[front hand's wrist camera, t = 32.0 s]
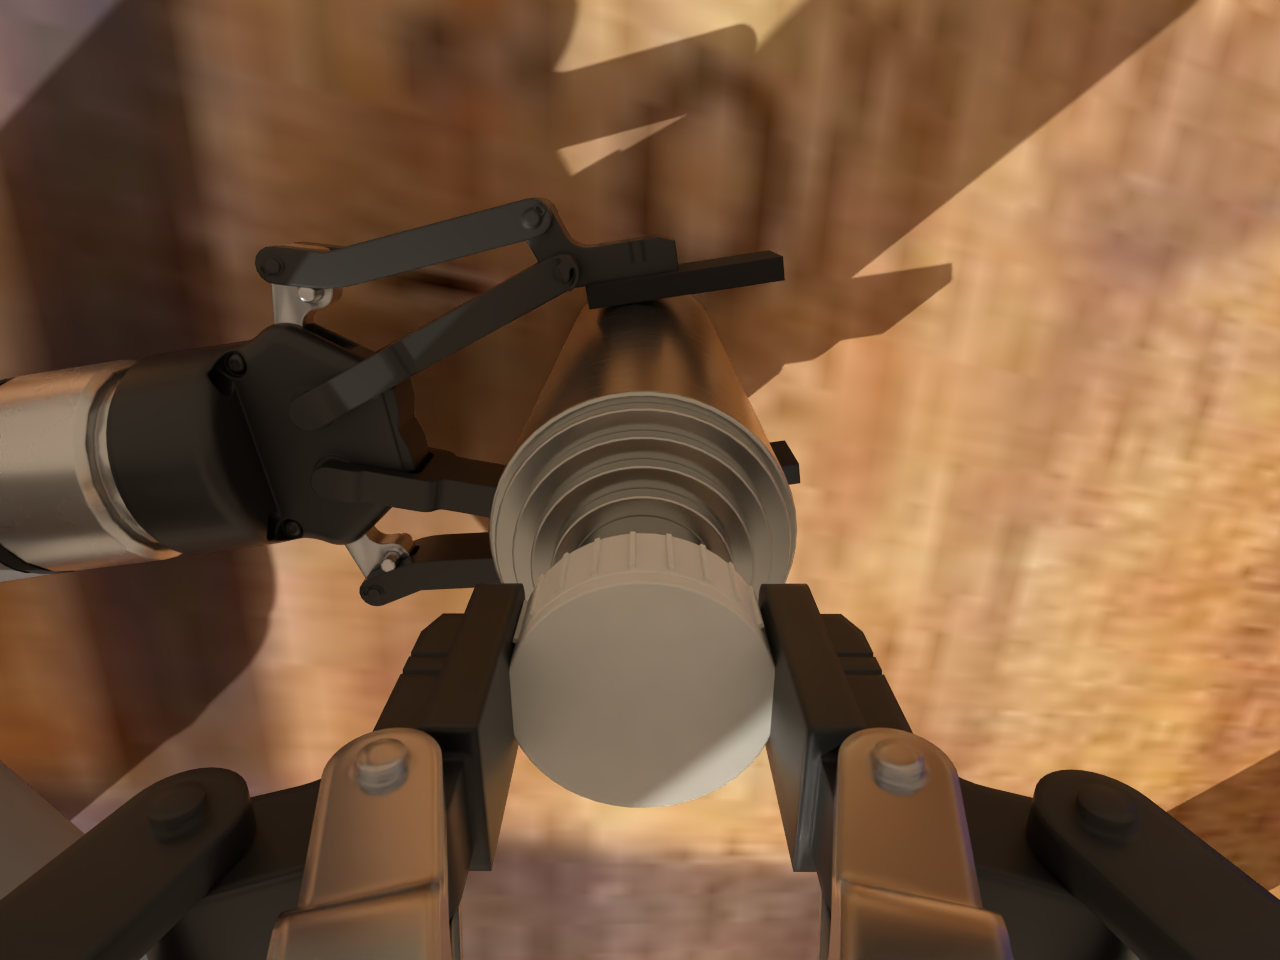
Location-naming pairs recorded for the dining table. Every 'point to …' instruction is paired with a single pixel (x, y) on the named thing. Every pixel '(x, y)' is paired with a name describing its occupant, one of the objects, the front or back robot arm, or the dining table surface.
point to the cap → (641, 672)
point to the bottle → (643, 450)
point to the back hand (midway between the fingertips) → (783, 367)
